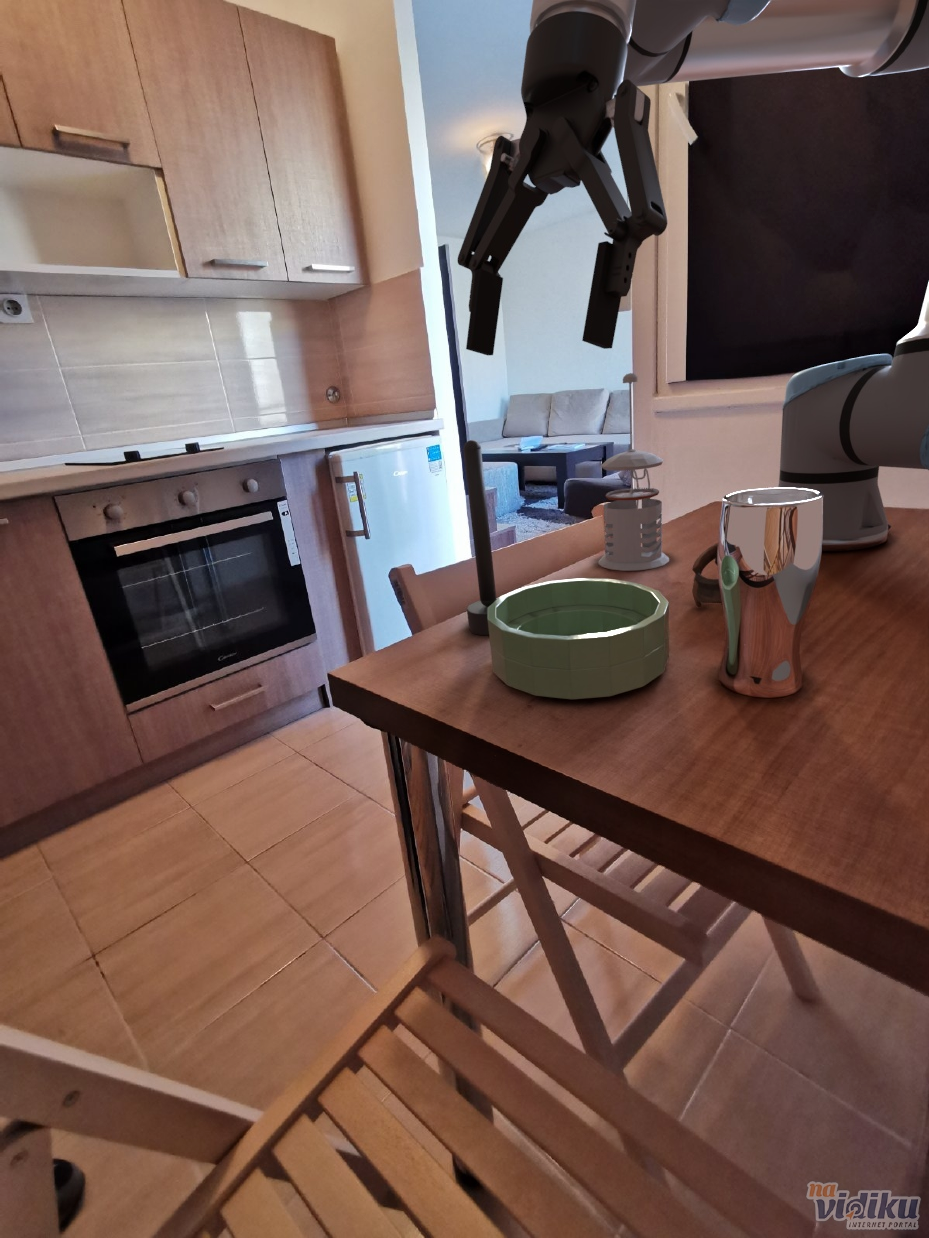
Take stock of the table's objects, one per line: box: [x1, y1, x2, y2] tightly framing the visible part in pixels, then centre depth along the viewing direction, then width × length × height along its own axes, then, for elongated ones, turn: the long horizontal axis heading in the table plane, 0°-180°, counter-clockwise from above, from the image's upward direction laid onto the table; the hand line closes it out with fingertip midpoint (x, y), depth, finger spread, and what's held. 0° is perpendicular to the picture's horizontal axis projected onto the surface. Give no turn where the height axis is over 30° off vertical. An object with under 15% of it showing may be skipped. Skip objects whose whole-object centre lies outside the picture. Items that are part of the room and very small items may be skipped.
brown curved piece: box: [691, 542, 722, 609], centre depth 64 cm, size 12×10×8 cm
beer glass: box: [716, 487, 824, 699], centre depth 45 cm, size 7×7×15 cm
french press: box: [597, 372, 670, 572], centre depth 81 cm, size 10×12×25 cm
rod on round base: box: [463, 439, 498, 636], centre depth 63 cm, size 5×5×20 cm
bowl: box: [488, 577, 670, 700], centre depth 53 cm, size 16×16×6 cm
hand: (532, 349), depth 49 cm, fingers open, 13 cm apart
